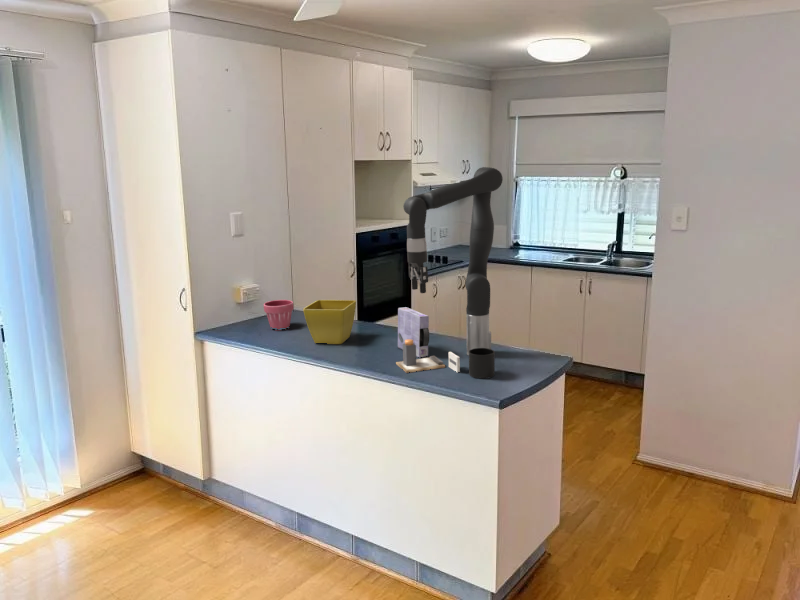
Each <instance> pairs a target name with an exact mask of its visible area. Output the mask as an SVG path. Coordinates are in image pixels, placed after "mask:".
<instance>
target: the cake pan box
mask: <svg viewBox="0 0 800 600" xmlns="http://www.w3.org/2000/svg"><path fill="white" fill-rule="evenodd" d="M429 319H430V316H429V315H427V314H424V313H422V312H419V311H417V310H415V309H412V308H409V307H406V306H405V307H398V308H397V348H398V349H400V350H402V351H403V344H404V343H405V340H407V339H412V340H413V343H414V344H415V345H416V358H418V357H419V358H418V359H422V358H427V357H429V344H430V330H429V329H430V328H429V327H430V325H429V324H430V323H429V322H430V321H429ZM426 356H427V357H426ZM421 357H422V358H421Z"/></svg>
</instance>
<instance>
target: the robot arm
mask: <svg viewBox="0 0 800 600" xmlns="http://www.w3.org/2000/svg"><path fill="white" fill-rule="evenodd" d="M502 184H503V174H502V172H501V171H500V170H498V169H497V168H494V167H489V166H487V167H486V166H485V167H484V166H482V167H479V168H477V169H476V171H475V172H474V175H473V176H472V178H469V179H466V180H463V181H459V182H454V183H451V184H445V185H442V186H441V187H437V188H435V189H432V190H429V191H428V192H424V193H420V194H415V195H413V196H411V197H410V196H409V197H408V198H407V199H406V200H405V201H404V203H403V210H404V212H405V213H406V214H407V215H408V223H407V225H406V238H407V239H406V252H407V253H406V255H407V263H408V278H410V280H411V290H413V291H414V290H418V288H419V293H420V294H425V293H427V287H426V286H427V285H426V284H427V283H429V274H428V273H429V271H428V270H429V269H428V266H424V263H426V262H427V261H428V251H427V249H428V248H427V246H428V245H427V240H426V227H425V226H426V222H427V221H426V220H427V215H428V213H427V211H428V210H432V209H433V210H434V209H438V208H441V207H444V206H446V205H450V204H452V203H454V202H458V201H460V200H462V199H465V198H468V197H471V196H472V211H471V223H470V229H469V251H468V253H469V256H468V257H469V261H468V268H467V274H466V278H465V282H464V284H465V289H466V301H467V302H466V306H465V307H466V310H465V311H466V313H465V314H466V317H465V318H466V322H465V323H466V355H467V356H468V357H469V351H470V350H471V349H475V348H488V349H492V332H491V331H490V308H491V284H490V281H489V279H488V273H487V271H488V270H487V269H488V261H489V256H490V253H491V251H492V246H493V241H494V233H495V222H494V218H493V212H492V208H491V198H492V192H495V191H496V190H498V189H499V188H501V186H502ZM418 283H419V285H418Z"/></svg>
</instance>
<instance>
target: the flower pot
mask: <svg viewBox="0 0 800 600" xmlns="http://www.w3.org/2000/svg"><path fill="white" fill-rule="evenodd" d="M356 308H357V300H352V299H350V300H349V299H317V300H316V301H313V302H312V303H310V304H309V305H307V306H305V307H304V308H303V309H302V311H303V314H304V315H303V316H304V319H305V322H306V325H307V328H308V330H309V334H310V335H311V337H312V340H313V342H314V344H316V343H327V344H326V345H342V344H343V343H345V342H346V340H348V339H349V338H350V336H351V333H352V330H353V325H354V321H355V316H356V315H355V314H356Z"/></svg>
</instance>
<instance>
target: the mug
mask: <svg viewBox="0 0 800 600" xmlns="http://www.w3.org/2000/svg"><path fill="white" fill-rule="evenodd" d="M495 354H496V353H495V350H494V349H492V348H491V349H488V348H475V349H471V350H470V351H469V356H468V375H469V376H470V377H471V378H474V379H483V380H484V379H490V378H493V377H494V376H495V371H496V370H495V366H496V365H495V364H496V362H495V361H496V360H495V356H496V355H495Z"/></svg>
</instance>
